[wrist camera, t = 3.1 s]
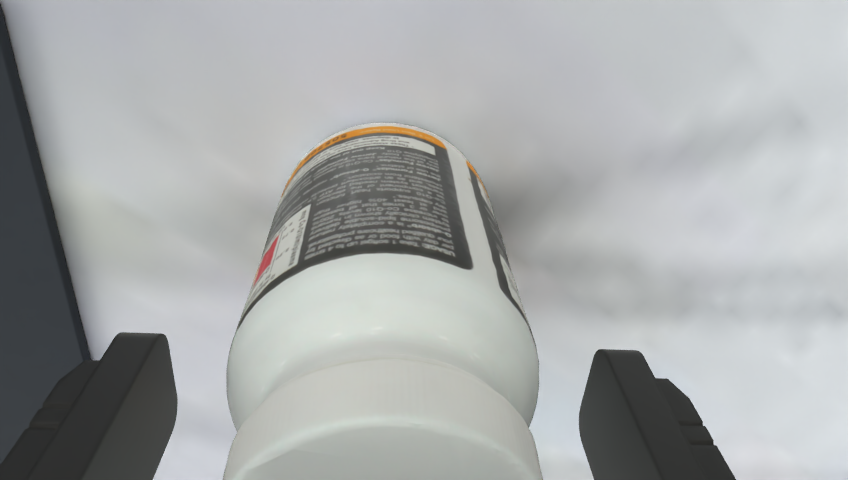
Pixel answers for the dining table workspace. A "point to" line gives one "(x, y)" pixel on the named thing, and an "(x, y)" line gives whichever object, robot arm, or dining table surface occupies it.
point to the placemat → (29, 271)
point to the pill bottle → (383, 324)
